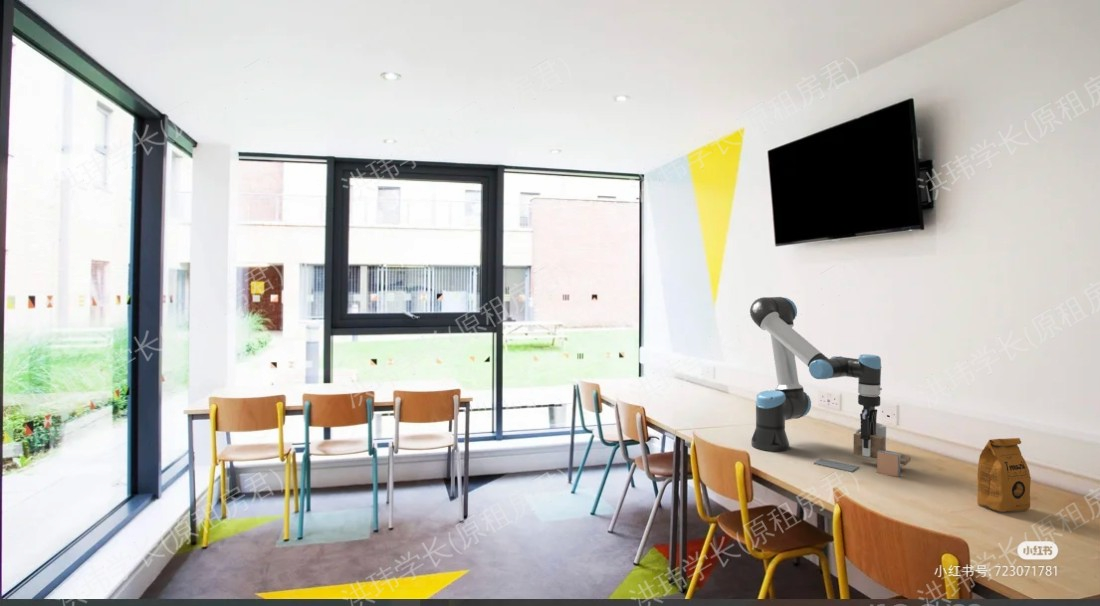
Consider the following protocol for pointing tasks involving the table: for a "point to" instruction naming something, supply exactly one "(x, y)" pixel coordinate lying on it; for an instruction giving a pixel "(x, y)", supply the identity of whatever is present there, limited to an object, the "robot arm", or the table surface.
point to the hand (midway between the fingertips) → (868, 454)
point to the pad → (836, 465)
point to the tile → (888, 463)
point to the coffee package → (1003, 476)
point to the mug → (878, 431)
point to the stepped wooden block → (874, 447)
